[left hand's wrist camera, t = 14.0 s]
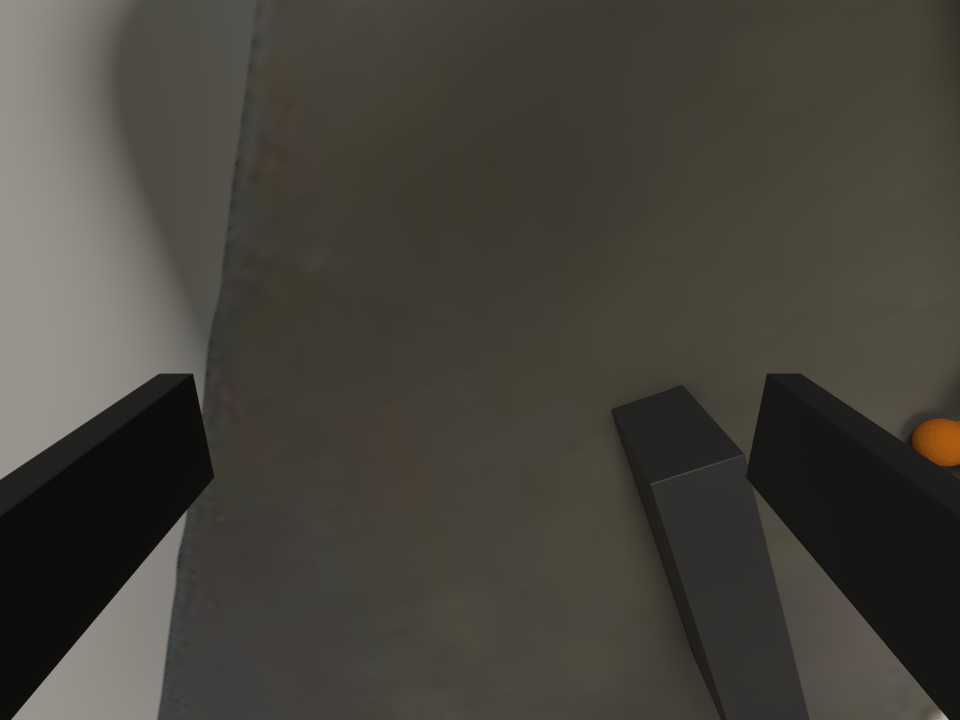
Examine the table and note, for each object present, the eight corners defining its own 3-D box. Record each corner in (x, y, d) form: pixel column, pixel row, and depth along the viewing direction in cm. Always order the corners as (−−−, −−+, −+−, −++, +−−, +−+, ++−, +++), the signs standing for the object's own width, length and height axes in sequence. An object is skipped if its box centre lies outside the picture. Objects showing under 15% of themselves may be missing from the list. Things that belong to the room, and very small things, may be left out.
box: (610, 409, 44) (650, 484, 34) (682, 385, 43) (744, 454, 33) (692, 651, 54) (741, 766, 43) (752, 634, 53) (816, 748, 43)
